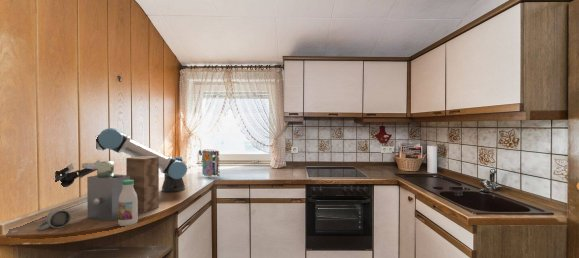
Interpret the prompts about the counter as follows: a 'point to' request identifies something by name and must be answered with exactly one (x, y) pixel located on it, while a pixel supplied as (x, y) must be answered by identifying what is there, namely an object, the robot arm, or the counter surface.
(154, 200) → the walnut stand
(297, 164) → the counter surface
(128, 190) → the milk bottle
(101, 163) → the spout can
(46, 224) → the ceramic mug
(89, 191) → the box
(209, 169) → the box
